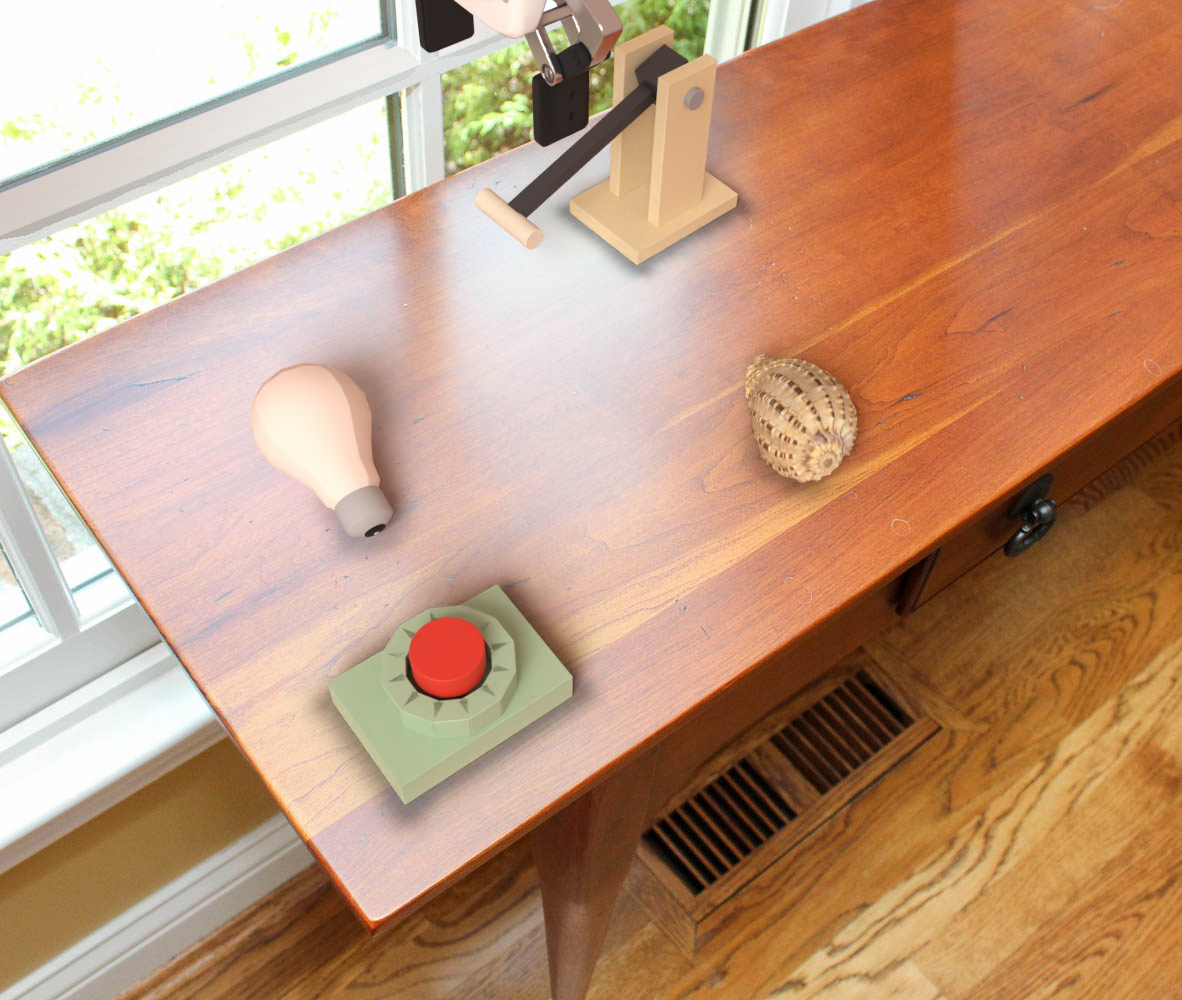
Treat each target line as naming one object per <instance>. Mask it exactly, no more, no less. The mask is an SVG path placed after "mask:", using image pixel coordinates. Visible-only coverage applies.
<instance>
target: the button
mask: <svg viewBox="0 0 1182 1000" xmlns="http://www.w3.org/2000/svg"><path fill="white" fill-rule="evenodd" d="M409 658H410V663H411V668H412V673H413V677H414V679H415V681H416V683H417V684H418V685H419V687H420V688H421V689H423V690H424V691H425V692H427V693H429V694H431V695H433V696H437V697H443V698H451V697H457V696H460V695H463V694H465V693H467V692H469V691H470V690H472V689H473V688H474V687H475V686H477V684H478V683H479V682H480V681H481V679H482V678H483V676H484V673H485V670H486V653H485V644H484V639H483V637H482V634H481V633H480V631H479V630H478V629H477V628H476V627H475V626H474V625H473V624H471V623H470V622H468V621H466V620H463V619H460V618H454V617H445V618H439V619H436V620H433V621H431V622H429V623H427V624H425V625H424V626H422V627H421V628H420V629H419V630H418V631H417V632H416V634H415V635H414V637H413V638H412V640H411V643H410V647H409Z"/></svg>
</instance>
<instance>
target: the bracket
mask: <svg viewBox="0 0 1182 1000" xmlns="http://www.w3.org/2000/svg"><path fill="white" fill-rule="evenodd" d="M674 34H675V30H673V29H672V28H671V27H669V26H668V25H666V24H661V25H659V26H657V27H654V28H652V29H650V30H648V31H646V32H644V33H642V34H640V35H638V36H635V37H633V38H631V39H629V40H626V41H625V42H622V43H620V44H618V45H616V46H614V56H613V57H614V58H613V81H612V83H613V85H612V106H611V108H612V109H613V108H615V107H616V106H617V105H618V104H619V103H620V102H621V101H622V100H623V99H625V98H626V97H627V96H628V95H629V94H630V93H631V92H632V91H633V90H635V89H636V88H637V87H638V86H639V84H638V81H637V77H636V74H635V70H636V69H637V68H638V67H639V66H640V65H641V64H642V63H643V62H645V61H646V60H647V59H648V58H649V57H650V56H651V55H652V54H653V53H655V52H656V51H657V50H658V49H659V48H660V47H661V46H662V45H664V44H666V45H667V46H668V47H670V48H671V49H673V47H674V37H675V35H674ZM673 50H674V49H673ZM717 68H718V60H717V59H716V58H715V57H713V56H712V55H710V54H709V53H705V54H703V55H701V56H698V57H696V58H694V59H693V60H691V61H688V63H686V64H684V65H682V66H680V67H678V68H676V69H674V70H672V71H670V72H668V73H666V74H664V75H662V76H660V77H658V85H657V99H656V105H655V104H652V105H651V106H650V107H648V108H647V109H646V110H645V111H644V112H643V113H642V114H641V115H640V116H639V117H637V118H636V119H635V120H634V121H633V122H632V123H631V124H630V125H629V126H628V127H626V128H625V129H624V130H623V131H622V132H621V133H620V134H619V135H618V136H617V137H615V138H614V139H613V140H612V141H611V142H610V159H609V160H610V161H609V165H610V166H609V178H608V179H606V180H603V181H602V182H601V183H598V184H596V185H595V186H593V187H591V188H588V189H587V190H586V191H584V192H582V193H580V194H577V195H576V196H574V197H573V198H571V199H570V200H569V213H570V214H571V215H572V216H573V217H575V218H576V219H577V220H578V221H580V222H581V223H582V224H583V225H585V226H586V227H587V228H588V229H590V230H591V231H592V232H594V233H595V234H596V235H597V236H599V237H600V238H601V239H602V240H604V241H605V242H606V243H607V244H609V245H610V246H611V247H613V248H614V249H615V250H616V251H618V252H619V253H621V255H623V256H624V257H625V258H627V259H628V260H629V261H630V262H632V263H633V264H635V266H639V265H640V264H642V263H644V262H645V261H647V260H649V259H651V258H652V257H654V256H656V255H657V254H659V253H661V252H662V251H664V250H666V249H667V248H669V247H670V246H672V245H674V244H676V243H678V242H679V241H681V240H683V239H684V238H686V237H688V236H689V235H691V234H693V233H694V232H696V231H698V230H700V229H701V228H703V227H704V226H707V225H708V224H709V223H711V222H714V221H715V220H716V219H718V218H720V217H722V216H723V215H725V214H726V213H728V212H730V211H731V210H733V209H735V208H737V205H738V196H739V193H737V192H736V191H735V190H733V189H732V188H731V187H729V186H728V185H726V184H725V183H724V182H722V181H721V180H719V178H717V177H715V176H714V175H712V174H711V173H710V172H709V171H707V170H706V164H707V157H708V156H707V154H708V146H709V139H710V128H711V123H712V122H711V120H712V113H713V104H714V95H715V87H716V77H717V70H718V69H717ZM612 109H611V110H612Z"/></svg>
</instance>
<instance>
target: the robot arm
mask: <svg viewBox="0 0 1182 1000" xmlns="http://www.w3.org/2000/svg"><path fill="white" fill-rule="evenodd" d="M547 2H548V0H414V4H415V14H416V21H417V30H418V39H419V46H420V47H421V49H423V50H424V51H425V52H427V53H428V54H432V53H436V52H439V51H441V50H443V49H446V48H448V47H451V46H453V45H456V44H459V43H461V42H464V41H466V40H469V39H471V38H472V37H473V36H474V35H475V20H474V17H475V18H476V19H478V20H479V21H480V22H482V23H483V24H484V25H486V26H487V27H488V28H490V29H491V30H493V31H495V33H498V34H499V35H501V36H503V37H505V38H508V39H512V40H517V39H522V38H523V37H524V38H525V40H526V42H527V45H528V48H529V49H530V52H531V55H532V56H533V59H534V61H535V63H536V66H537V68H538V70H539V72H538V73H536V74H534V76H532V77H531V95H532V97H531V98H532V99H531V100H532V128H533V129H532V130H533V131H532V133H533V140H534V141H535V143H537V144H538V145H539V146H540V147H542V148H546V147H548V146H551V145H553V144H555V143H557V142H559V141H561V140H563V139H565V138H568V137H570V136H573V135H574V134H576V133H578V132H580V131H583V130H584V129H586V127H587V126H588V125H589V121H590V70H592V69H595V68H597V67H598V66H599V65H601V64H602V63H604V62H606V61H607V60H609V59H610V58H611V56H612V50H613V49H614V48H615V45H616V44H617V42H618V41H619V38H620V37H621V35H622V33H623V30H624V26H623V21H622V19H621V18H620V16H619V14H618V13H617V12H616V10H615V8H614V7H613V5H612V3H610V0H552V2H554V3H555V5H556V6H555V7H552V8H550V9H547V10H545V8H546V4H547ZM559 21H560V23H561V26H562V28H563V30H564V32H565V35H566V38H567V40H568V42H569V44H570V45H569V46H568V47H566V48H565V49H563V50H561V51H560V52H558V53H556V51H555V48H554V46H553V43H552V41H551V39H550V36H549V35H548V32H547V30H546V27H548V26H550V25H552V24H554V23H557V22H559Z"/></svg>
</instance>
